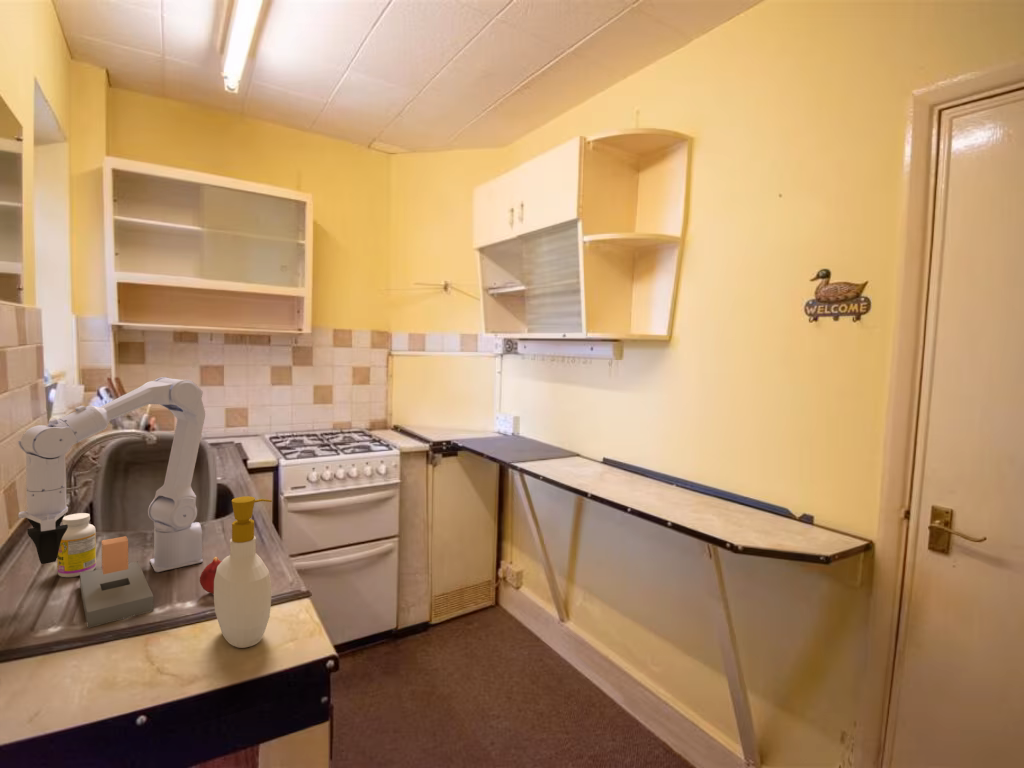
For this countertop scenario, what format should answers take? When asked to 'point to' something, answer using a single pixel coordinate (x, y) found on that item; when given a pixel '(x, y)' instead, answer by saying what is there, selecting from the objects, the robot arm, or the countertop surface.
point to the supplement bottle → (77, 546)
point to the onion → (209, 575)
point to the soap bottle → (242, 582)
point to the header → (115, 594)
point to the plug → (114, 555)
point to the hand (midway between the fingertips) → (48, 555)
